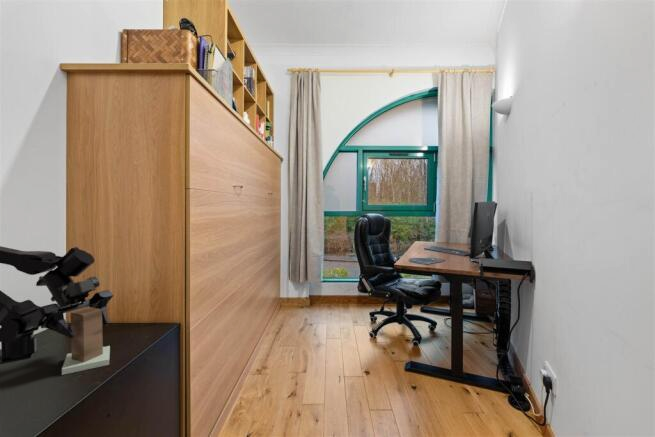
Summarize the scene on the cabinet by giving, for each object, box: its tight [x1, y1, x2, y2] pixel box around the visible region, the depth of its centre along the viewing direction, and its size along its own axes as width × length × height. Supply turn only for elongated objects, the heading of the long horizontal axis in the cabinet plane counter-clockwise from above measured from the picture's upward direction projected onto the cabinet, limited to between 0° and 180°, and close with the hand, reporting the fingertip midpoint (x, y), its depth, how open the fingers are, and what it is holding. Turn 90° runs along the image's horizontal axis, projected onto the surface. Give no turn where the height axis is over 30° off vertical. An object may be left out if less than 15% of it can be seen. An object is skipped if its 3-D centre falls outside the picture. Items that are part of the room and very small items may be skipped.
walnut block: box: [70, 306, 104, 362], centre depth 88 cm, size 5×5×13 cm
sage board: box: [61, 345, 111, 376], centre depth 88 cm, size 10×10×2 cm
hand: (90, 330), depth 88 cm, fingers open, 9 cm apart
